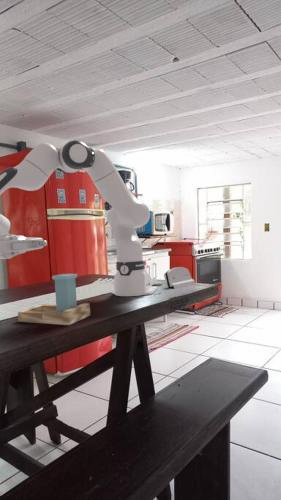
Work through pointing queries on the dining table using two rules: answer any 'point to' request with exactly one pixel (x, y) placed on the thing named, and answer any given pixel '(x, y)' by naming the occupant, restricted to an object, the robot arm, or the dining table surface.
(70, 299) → the post
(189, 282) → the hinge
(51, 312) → the keyhole board
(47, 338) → the dining table surface
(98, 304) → the dining table surface
